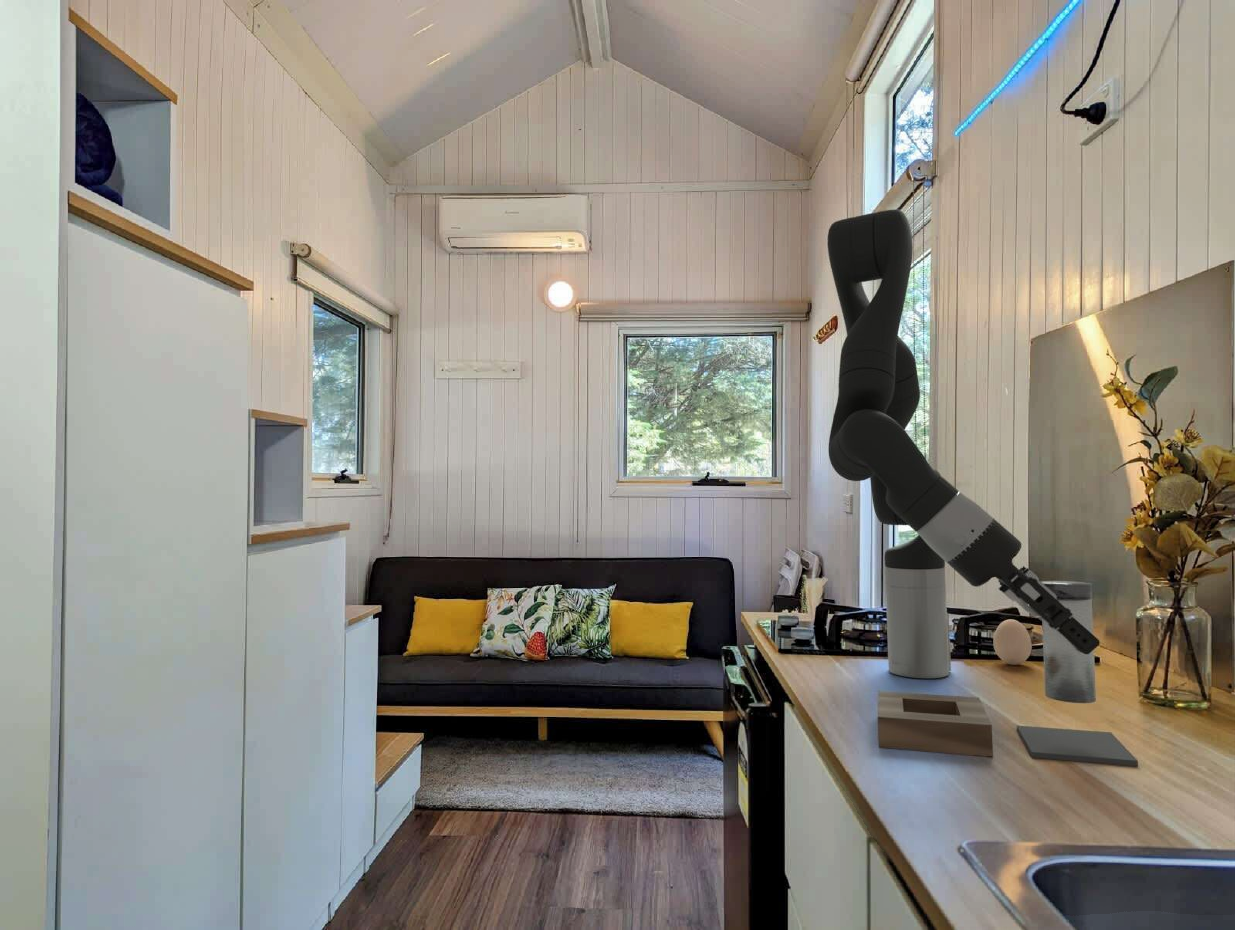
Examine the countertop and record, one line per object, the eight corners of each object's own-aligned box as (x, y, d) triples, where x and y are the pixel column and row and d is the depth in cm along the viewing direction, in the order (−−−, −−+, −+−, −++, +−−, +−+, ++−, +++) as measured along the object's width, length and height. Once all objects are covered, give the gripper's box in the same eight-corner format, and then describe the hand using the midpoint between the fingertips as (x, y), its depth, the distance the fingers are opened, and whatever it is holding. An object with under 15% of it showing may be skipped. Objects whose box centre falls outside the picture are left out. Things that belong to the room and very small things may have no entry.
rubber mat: (1016, 730, 92) (1016, 725, 92) (1111, 737, 89) (1110, 732, 89) (1031, 757, 83) (1031, 751, 83) (1138, 766, 80) (1137, 760, 80)
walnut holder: (879, 718, 99) (878, 691, 99) (980, 725, 95) (978, 697, 95) (878, 747, 87) (877, 716, 87) (993, 757, 83) (991, 725, 83)
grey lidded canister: (1056, 689, 90) (1052, 579, 90) (1104, 698, 86) (1099, 583, 86) (1036, 696, 87) (1032, 583, 87) (1085, 705, 82) (1079, 586, 83)
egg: (1033, 669, 123) (1031, 622, 124) (994, 666, 126) (992, 621, 126) (1031, 662, 129) (1029, 617, 129) (993, 659, 131) (992, 615, 132)
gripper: (999, 517, 83) (1132, 632, 78) (983, 515, 96) (1095, 612, 92) (949, 564, 84) (1076, 680, 80) (939, 556, 98) (1048, 654, 93)
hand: (1086, 643), depth 86 cm, fingers closed on grey lidded canister, 5 cm apart
